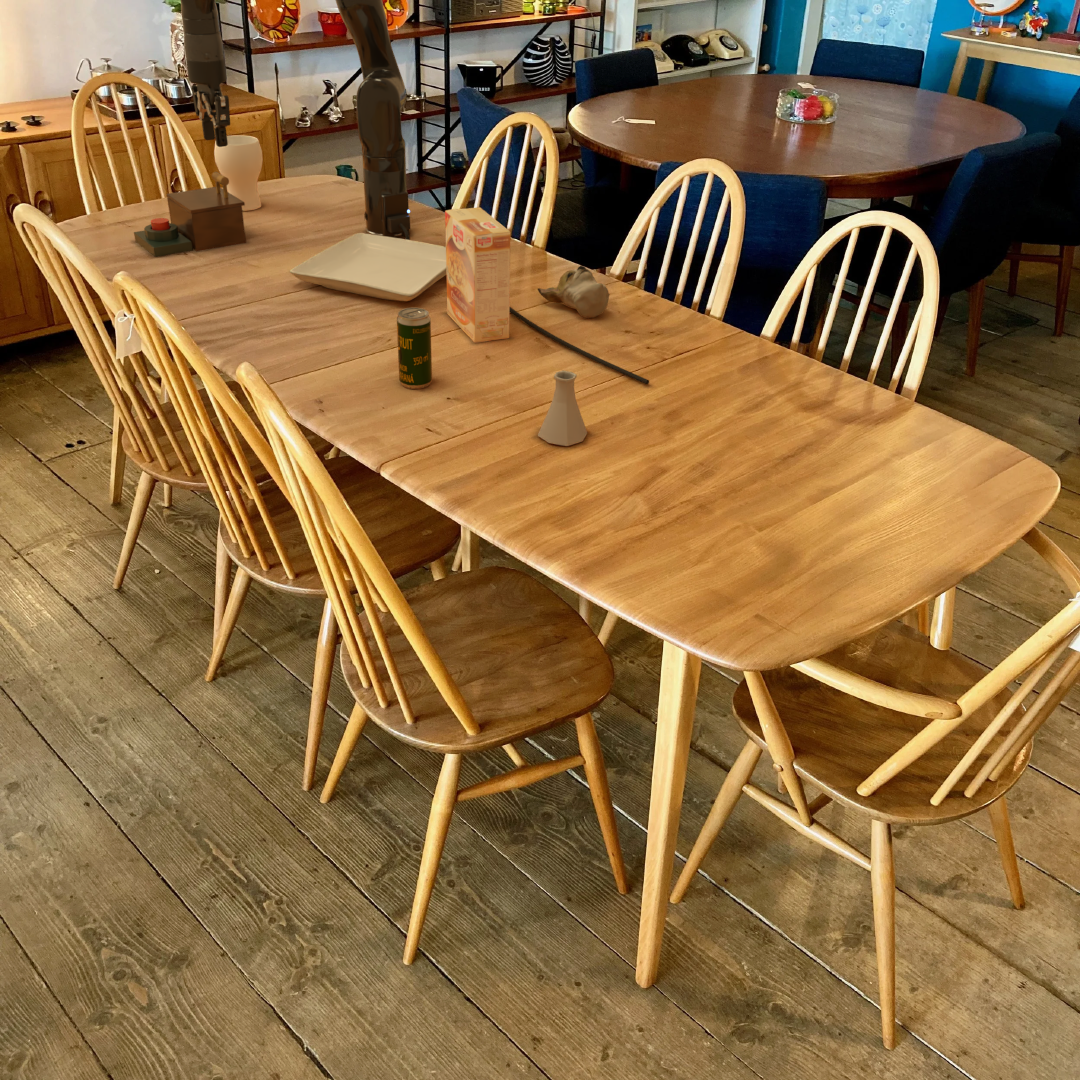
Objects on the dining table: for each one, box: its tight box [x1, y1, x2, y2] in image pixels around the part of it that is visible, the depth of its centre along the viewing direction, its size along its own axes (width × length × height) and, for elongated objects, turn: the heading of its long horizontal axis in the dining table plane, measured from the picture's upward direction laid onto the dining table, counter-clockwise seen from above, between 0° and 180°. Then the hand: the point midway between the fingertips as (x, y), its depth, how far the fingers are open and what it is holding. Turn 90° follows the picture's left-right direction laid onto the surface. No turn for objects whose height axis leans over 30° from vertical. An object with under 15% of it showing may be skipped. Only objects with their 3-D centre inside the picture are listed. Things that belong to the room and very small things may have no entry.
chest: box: [166, 196, 247, 252], centre depth 237 cm, size 11×14×8 cm
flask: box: [537, 370, 588, 447], centre depth 164 cm, size 7×7×10 cm
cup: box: [213, 134, 264, 212], centre depth 255 cm, size 11×11×15 cm
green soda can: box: [396, 307, 433, 390], centre depth 178 cm, size 5×5×12 cm
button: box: [150, 217, 170, 230], centre depth 232 cm, size 4×4×2 cm
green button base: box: [133, 222, 194, 258], centre depth 233 cm, size 12×8×4 cm, turn 36°
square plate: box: [289, 232, 447, 302], centre depth 221 cm, size 27×27×4 cm
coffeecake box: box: [444, 207, 512, 344], centre depth 197 cm, size 15×7×20 cm, turn 23°
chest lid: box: [166, 171, 245, 214], centre depth 234 cm, size 12×14×5 cm
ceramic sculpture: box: [537, 265, 610, 319], centre depth 209 cm, size 11×9×15 cm
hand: (215, 142), depth 231 cm, fingers open, 6 cm apart
